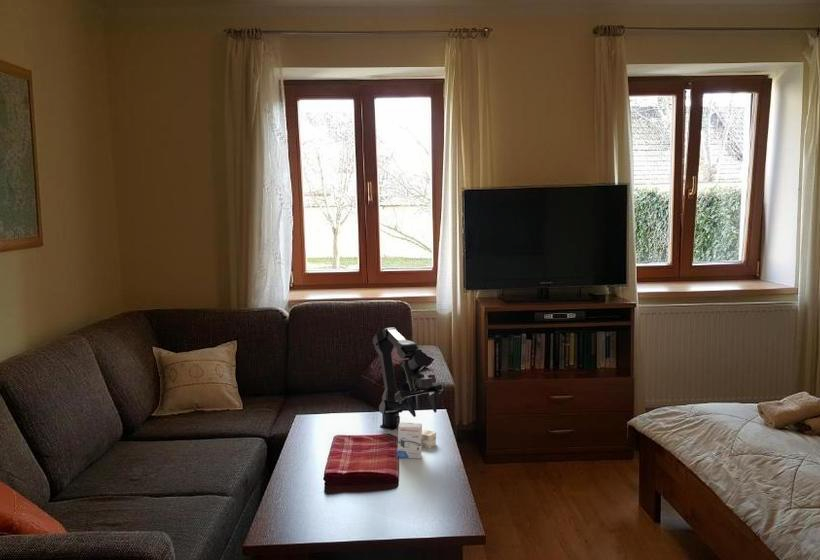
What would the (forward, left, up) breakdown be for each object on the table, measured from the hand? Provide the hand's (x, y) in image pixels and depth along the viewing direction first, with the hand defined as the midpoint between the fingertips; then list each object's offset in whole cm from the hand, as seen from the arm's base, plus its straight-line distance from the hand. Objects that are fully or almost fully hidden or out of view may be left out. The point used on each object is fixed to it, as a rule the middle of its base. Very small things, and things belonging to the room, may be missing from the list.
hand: (425, 414), depth 233 cm
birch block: (-2, +6, -15) cm, 16 cm away
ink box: (-3, -6, -15) cm, 16 cm away
